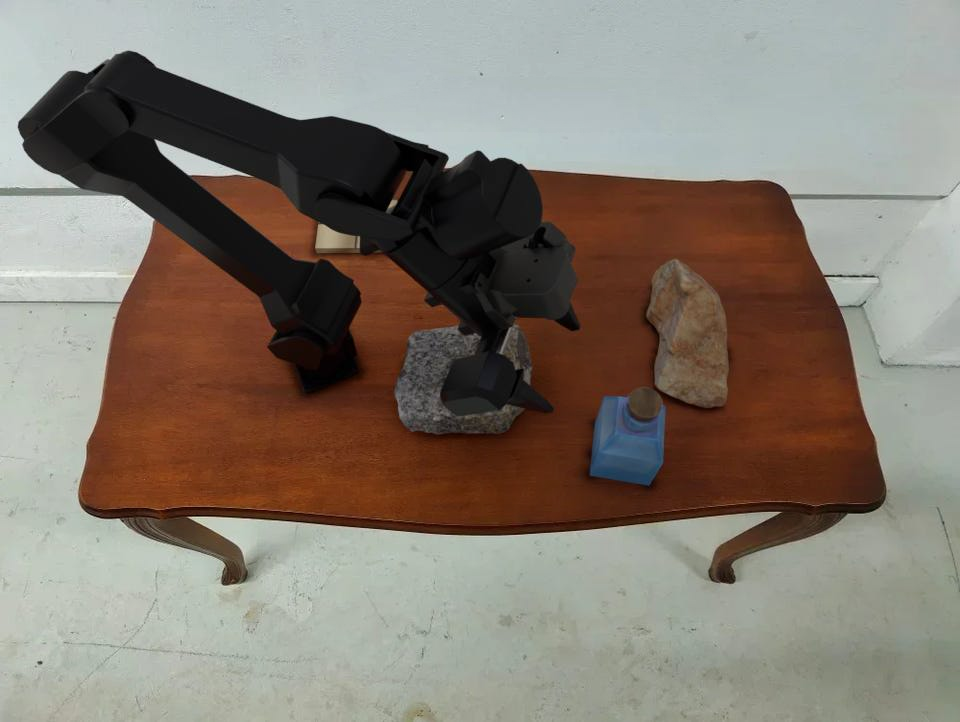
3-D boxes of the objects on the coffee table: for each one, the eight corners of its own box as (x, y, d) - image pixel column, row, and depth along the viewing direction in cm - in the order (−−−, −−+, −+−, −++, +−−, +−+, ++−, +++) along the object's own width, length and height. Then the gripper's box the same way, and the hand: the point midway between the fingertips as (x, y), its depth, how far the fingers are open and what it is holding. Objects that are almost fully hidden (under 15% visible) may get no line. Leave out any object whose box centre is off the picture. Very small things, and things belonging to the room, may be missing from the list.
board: (316, 253, 89) (314, 247, 88) (322, 205, 93) (320, 199, 92) (482, 251, 89) (482, 246, 88) (481, 204, 93) (481, 198, 92)
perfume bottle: (648, 485, 73) (678, 438, 63) (589, 475, 74) (608, 426, 64) (652, 432, 77) (680, 378, 66) (595, 422, 77) (614, 368, 67)
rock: (391, 439, 76) (531, 444, 76) (387, 414, 70) (537, 420, 71) (401, 338, 82) (530, 343, 82) (397, 307, 76) (536, 314, 77)
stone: (642, 263, 86) (691, 240, 76) (705, 279, 88) (759, 259, 79) (627, 403, 83) (676, 397, 73) (693, 416, 85) (748, 411, 76)
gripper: (477, 336, 47) (611, 452, 55) (554, 147, 56) (659, 270, 64) (380, 362, 55) (509, 460, 63) (461, 193, 64) (564, 298, 72)
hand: (563, 368), depth 65 cm, fingers open, 9 cm apart
